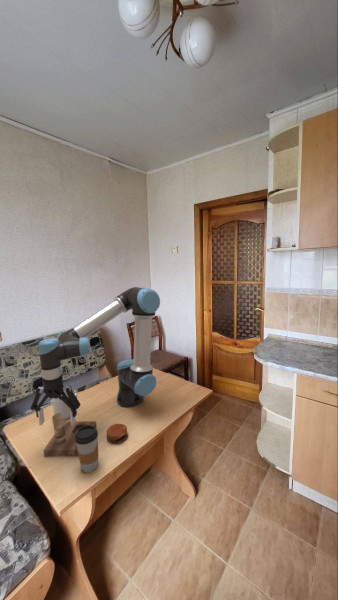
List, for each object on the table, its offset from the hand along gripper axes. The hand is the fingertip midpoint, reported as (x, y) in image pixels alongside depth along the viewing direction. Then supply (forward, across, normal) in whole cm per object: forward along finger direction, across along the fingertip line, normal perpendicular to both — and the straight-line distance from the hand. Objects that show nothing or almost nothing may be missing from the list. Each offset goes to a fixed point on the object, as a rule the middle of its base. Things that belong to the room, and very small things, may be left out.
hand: (57, 423), depth 105 cm
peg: (+8, 0, 0) cm, 9 cm away
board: (+11, -3, -4) cm, 13 cm away
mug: (+12, +8, -23) cm, 27 cm away
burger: (+12, -23, -6) cm, 27 cm away
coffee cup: (+12, -16, +10) cm, 22 cm away
